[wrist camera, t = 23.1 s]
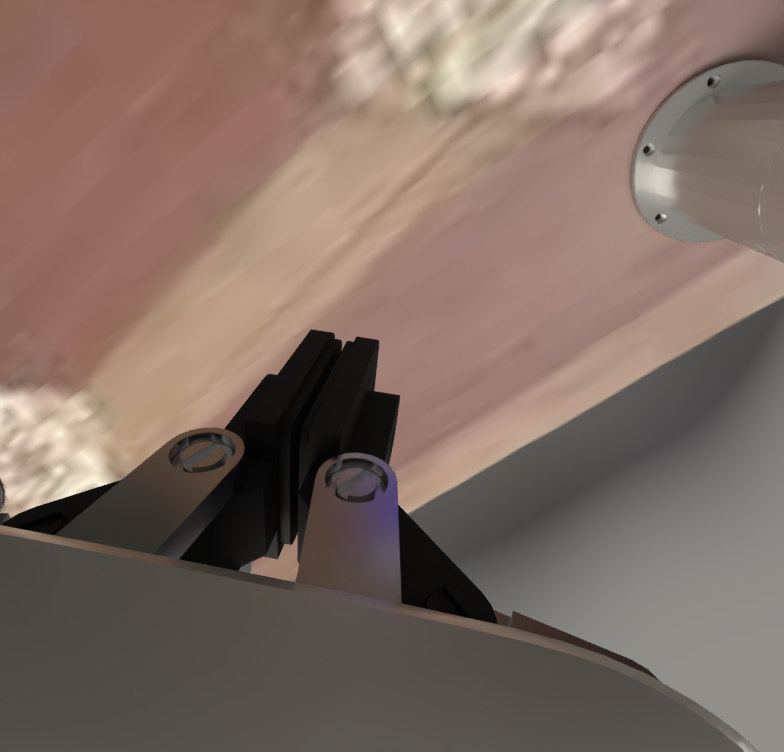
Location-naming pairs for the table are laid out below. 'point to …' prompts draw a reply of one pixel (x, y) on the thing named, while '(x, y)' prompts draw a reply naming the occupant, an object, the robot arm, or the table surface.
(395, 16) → the table surface
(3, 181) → the table surface
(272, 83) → the table surface
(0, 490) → the decorative lamp
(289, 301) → the table surface
